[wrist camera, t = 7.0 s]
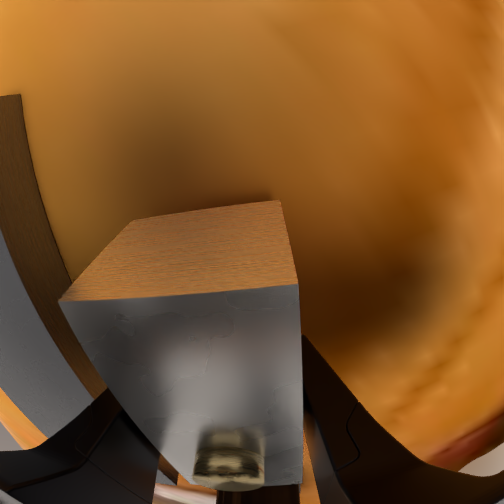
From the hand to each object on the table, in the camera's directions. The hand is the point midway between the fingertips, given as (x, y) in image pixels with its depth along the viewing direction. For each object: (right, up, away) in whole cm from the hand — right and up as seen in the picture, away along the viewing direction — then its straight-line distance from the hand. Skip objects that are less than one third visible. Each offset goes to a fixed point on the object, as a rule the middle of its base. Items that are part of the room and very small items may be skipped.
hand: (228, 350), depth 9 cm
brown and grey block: (0, 0, +1) cm, 1 cm away
